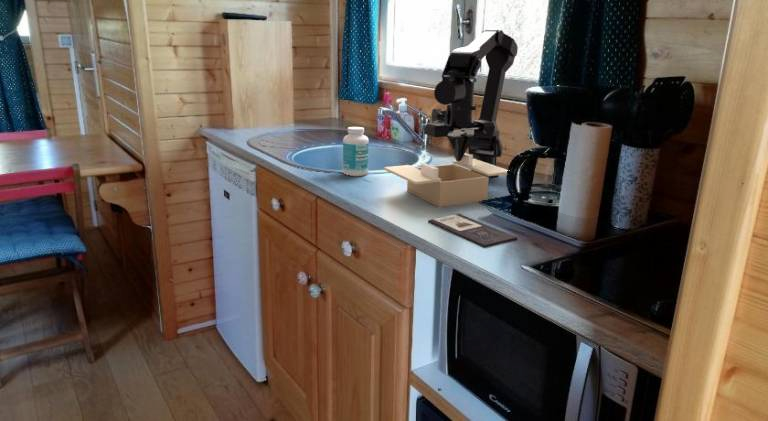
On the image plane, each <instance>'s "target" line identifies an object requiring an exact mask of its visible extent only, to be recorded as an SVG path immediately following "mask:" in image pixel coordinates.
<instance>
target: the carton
mask: <svg viewBox="0 0 768 421" xmlns="http://www.w3.org/2000/svg"><path fill="white" fill-rule="evenodd" d="M433 166H434V167H436V168H438V178H440V179H441V182H433V183H425V184H413V183H411V182H409V181H407V180H406V182H407V186H406V187H407V189H406V191H407V192H409V193H411V194H413V195H415V196H417V197H419V198H421V199H423V200H424V201H427V202H429V203H431V204H433V205H435V206H436V207H439V208H442V207H449V206H457V205H463V204H465V205H466V204H470V203H471V204H472V203H478V202H479V201H480V202H483V201H482V200H487V201H488V195H489V194H488V193H489V179H490V177H487V176H484V175H482V174H479V173H476V172H474V171H471V169H468V168H465V167H463V166H460V165H457V164H455V163H450V164H449V163H448V164H440V165H439V164H437V165H433ZM416 168H417V169H419V170H421V166H418V167H416Z"/></svg>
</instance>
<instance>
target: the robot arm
mask: <svg viewBox="0 0 768 421" xmlns="http://www.w3.org/2000/svg"><path fill="white" fill-rule="evenodd" d="M518 49H519V48H518V44H517V42H516V41H515V39H514V38H513V37H511V36H510V35H508V34H506V33H505V32H504V31H503V29H500V28H485V29H483V30H482V32H481V34H480V35H479V36H477V37H476V38H474V40H472V42H470V43H469V44H468V45H467V46H463V47H458V48H455V49H453V50H452V51H451V52H450V54H449V55H448V57H447V60H446V63H445V66H444V68H443V72H442V74H441V79H442V80H441V81H439V82H438V83H437V85H436V86H435V87H434V90H433V96H434V99H435V100H436V101H437V102H438V103H439V104H440V105H444V106H446V110H442V109H441V108H433V109H432V110H431V120H432V122H428V123H426V124H425V126H424V127H423V134H424V135H427V136H430V137H432V138H447V139H448V140H449V141H448V142H450V145H451V148H452V152H453V156H454V158H455V160H456V161H461V159H462V157H463V156H464V154H465V153H467V150H468V154H469V155H472V156H473V159H477V160H480V161H483V162H486V163H489V164H492V165H495V166H497V159H498V158H499V157H500V158H501V157H502V154H503V150H504V148H503V145H502V142H501V139H500V130H499V127H498V125H497V118H498V114H499V112H498V111H499V107H500V102H501V96H502V93H503V92H502V91H503V88H504V87H503V86H504V83H505V82H504V81H505V77H506V72H507V71H509V69H510V68H511V67H512V66H513V65H514V61H515V58H516V56H517V55H518V51H519V50H518ZM483 58H485V61H486V64H487V66H488V72H487V77H486V78H487V79H486V83H485V88H484V92H483V99H482V104H481V107H480V113H479V117H478V119H477V120H473V111H476V109H477V106H476V105H474V93H475V83H477V78H476V76H477V75H478V72H479V70H480V68H481V67H482V60H483ZM470 170H471V169H470ZM471 171H473V170H471ZM474 172H476V171H474ZM476 173H479V172H476ZM479 174H482V173H479ZM482 175H484V174H482ZM484 176H487V175H484ZM499 176H500V175H495V176H487V177H489V178H495V177H499Z"/></svg>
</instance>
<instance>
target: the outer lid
mask: <svg viewBox="0 0 768 421" xmlns="http://www.w3.org/2000/svg"><path fill="white" fill-rule="evenodd" d="M434 166H435V165H431V164H429V163H425V162H424V163H420V167H421V170H419V169H417V167H414V166H412V165H409V164H405V165H393V166H384V167H383V170H385V171H386V172H389V173H391V174H392V175H395V176H397V177H399V178H401V179H403V180H405V181H406V182H407V181H409V182H411V183H413V184H425V183H433V182H441V179H440V178H438V168H436V167H434Z"/></svg>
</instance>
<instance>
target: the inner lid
mask: <svg viewBox="0 0 768 421" xmlns="http://www.w3.org/2000/svg"><path fill="white" fill-rule="evenodd" d="M452 164H455V165H457V166H460V167H463V168H465V169H468V170H473V171H476V172H479V173H482V174H484V175H487V176H495V175H499V176H501V175H502V176H503V175H508V174H507V171H508V170H509V169H506V168H504V167H501V166H497V165H496V166H495V165H492V164H489V163H486V162H483V161H480V160H477V159H473V154H469V153H467V152H465V154H464V156H463V157H462V159H461V161H456V159H455V160H452Z"/></svg>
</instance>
